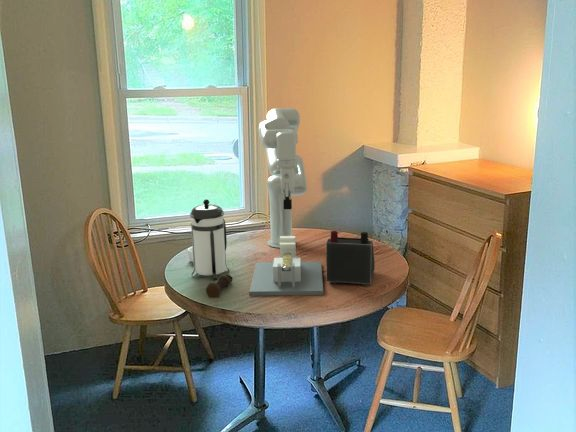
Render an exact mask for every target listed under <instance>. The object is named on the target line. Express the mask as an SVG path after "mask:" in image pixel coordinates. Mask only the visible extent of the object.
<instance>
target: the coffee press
mask: <svg viewBox="0 0 576 432" xmlns="http://www.w3.org/2000/svg"><path fill="white" fill-rule="evenodd" d="M202 203H203V204H201V205H197V206H195V207H193V208H192V209H191V211H190V213H189V217H190V219H191V223H190V228H191V244H192V245H191V247H193V261H194V262H193V271H192V272H191V277H192V278H194V279H195V277H197V276H198V275H201V276H211V278H212V281H214V282H215V281H218V277H217V275H219V274H222V273H224V272H225V273H230V269H229V268H228V267H227V256H226V250H227V245H228V243H227V242H228V241H227V226H226V225H227V224H226V221H225V219H224V215H225V212H224V210H223V208H222V207H221V206H219V205H217V204H211V203H210V200H209V199H204V200H203V202H202ZM226 269H227V270H226ZM195 272H196V273H195Z"/></svg>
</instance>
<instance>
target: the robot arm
mask: <svg viewBox="0 0 576 432" xmlns="http://www.w3.org/2000/svg"><path fill="white" fill-rule="evenodd" d="M300 118H301V117H300V113H299V111H298V110H297V109H296V108H294V107H287V108H286V107H285V108H282V107H281V108H279V107H278V108H277V107H276V108H272V109H270V110H269V111H268V112H267V114H266V119H265V120H263V121H261V122H260V123H259V124H258V125H259V126H258V135H259V140H260V142H261V145H262V147H263V149H264V151H265V152H266V161H267V162H266V164H267V169H268V172H269V175H271V176H269V177H268V179H267V180H266V186H267V194H268V199H269V221H270V222H269V224H270V239H267V245H268V246H269V247H271V248H277V249H278V248H279V249H280V236H293V233H292V232H293V231H292V229H293V228H292V223H293V222H292V220H293V219H292V209H293V205H292V202H293V201H292V199H293V198H292V196H302V195H305V194H306V192H307V190H308V182H307V176H306V171H305V165H304V161H303V158H302V157H301V156H300V155H299V154H297V144H298V142H299V141H298V140H299V137H298V130H299V127H300V121H301V119H300Z"/></svg>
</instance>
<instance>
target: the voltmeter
mask: <svg viewBox="0 0 576 432" xmlns="http://www.w3.org/2000/svg"><path fill="white" fill-rule="evenodd" d="M338 234H339V232H338V231H337V230H331V232H330V238H328V239H327V240H326V242H325V243H326V252H325V253H326V255H325V257H326V261H325V262H326V264H325V265H326V282H330V284H331V285H336V284H337V283H349V284H350V283H351V284H361V285H362V286H363V287H368V286H369V285H371V284H372V280H373V276H374V274H375V273H374V272H375V265H376V263H375V261H376V260H375V253H374V243H373V240H369V233H368V232H367V231H366V232H365V231H364V232H363V231H362V232H361V233H360V238H359V237H339V235H338ZM367 285H368V286H367Z"/></svg>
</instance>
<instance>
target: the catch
mask: <svg viewBox="0 0 576 432" xmlns="http://www.w3.org/2000/svg"><path fill="white" fill-rule="evenodd" d="M279 249H280V250H279V251H280V252H279V258H283V254H284V253H291V258H297V254H296V252H297V249H296V235H292V236H280V248H279Z"/></svg>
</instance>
